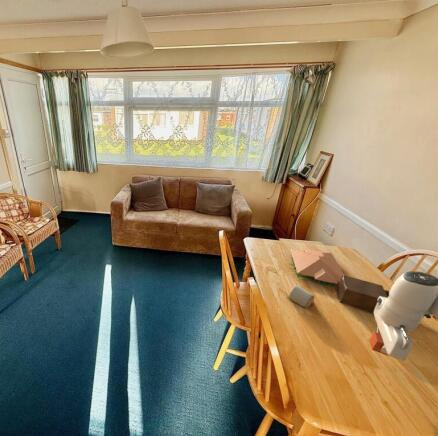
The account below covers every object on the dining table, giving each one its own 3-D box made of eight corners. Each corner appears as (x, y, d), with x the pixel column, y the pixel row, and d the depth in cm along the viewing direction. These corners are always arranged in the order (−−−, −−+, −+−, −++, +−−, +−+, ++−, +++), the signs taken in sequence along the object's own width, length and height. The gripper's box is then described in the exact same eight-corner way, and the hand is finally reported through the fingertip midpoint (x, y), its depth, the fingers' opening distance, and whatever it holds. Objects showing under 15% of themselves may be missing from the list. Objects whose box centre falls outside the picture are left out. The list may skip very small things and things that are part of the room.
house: (296, 281, 123) (300, 268, 119) (288, 250, 150) (291, 239, 147) (348, 292, 115) (354, 279, 111) (329, 257, 142) (334, 246, 139)
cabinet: (373, 300, 110) (382, 285, 106) (380, 317, 101) (389, 301, 97) (336, 289, 117) (342, 274, 112) (338, 304, 108) (346, 288, 104)
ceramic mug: (305, 312, 104) (310, 299, 100) (286, 301, 110) (291, 288, 106) (315, 302, 109) (320, 289, 106) (296, 292, 115) (301, 280, 112)
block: (385, 345, 81) (391, 337, 79) (389, 356, 78) (395, 347, 76) (369, 339, 83) (373, 331, 81) (372, 349, 80) (377, 341, 78)
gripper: (425, 345, 65) (403, 375, 70) (401, 299, 80) (385, 327, 86) (395, 335, 68) (376, 365, 73) (377, 293, 83) (363, 320, 89)
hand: (381, 344), depth 80 cm, fingers closed on block, 4 cm apart
